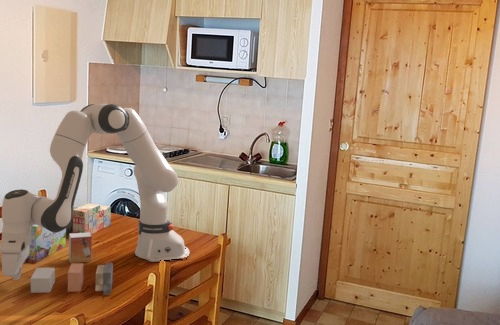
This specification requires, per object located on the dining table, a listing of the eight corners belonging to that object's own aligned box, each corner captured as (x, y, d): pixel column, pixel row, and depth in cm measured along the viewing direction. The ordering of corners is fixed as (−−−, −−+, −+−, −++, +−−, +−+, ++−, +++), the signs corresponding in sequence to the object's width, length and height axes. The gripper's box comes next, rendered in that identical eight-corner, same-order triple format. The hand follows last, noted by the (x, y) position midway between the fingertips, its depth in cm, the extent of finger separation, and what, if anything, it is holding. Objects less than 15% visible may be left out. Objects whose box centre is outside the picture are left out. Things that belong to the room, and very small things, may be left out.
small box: (70, 263, 199) (70, 237, 197) (68, 258, 204) (68, 233, 202) (91, 261, 203) (92, 236, 201) (89, 256, 208) (89, 231, 206)
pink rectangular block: (83, 282, 182) (83, 263, 181) (80, 292, 174) (80, 272, 173) (71, 282, 181) (71, 263, 180) (67, 292, 173) (67, 272, 172)
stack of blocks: (99, 223, 251) (100, 198, 248) (110, 225, 249) (111, 200, 247) (72, 235, 231) (72, 209, 228) (84, 238, 229) (84, 211, 227)
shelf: (112, 282, 185) (113, 262, 183) (110, 295, 175) (110, 273, 174) (35, 283, 180) (35, 262, 178) (28, 296, 170) (28, 274, 169)
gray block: (54, 281, 180) (54, 267, 180) (49, 292, 172) (49, 278, 171) (36, 281, 179) (36, 267, 178) (30, 292, 171) (30, 278, 170)
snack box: (36, 264, 197) (36, 226, 194) (23, 262, 198) (22, 224, 195) (66, 246, 217) (67, 211, 214) (54, 244, 218) (54, 210, 216)
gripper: (14, 229, 180) (15, 266, 183) (-3, 249, 161) (-2, 291, 163) (34, 229, 182) (34, 266, 184) (19, 249, 162) (19, 291, 164)
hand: (17, 278), depth 173 cm, fingers closed
